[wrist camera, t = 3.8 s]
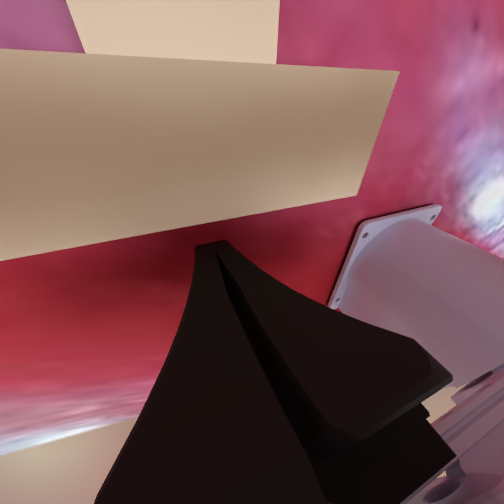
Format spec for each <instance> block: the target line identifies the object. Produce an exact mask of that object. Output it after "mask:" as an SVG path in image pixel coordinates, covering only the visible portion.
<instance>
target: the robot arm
mask: <svg viewBox="0 0 504 504" xmlns="http://www.w3.org/2000/svg"><path fill="white" fill-rule="evenodd" d="M441 209H442V206H441V205H438V204H433V205H429V206H425V207H421V208H416V209H412V210H408V211H404V212H399V213H395V214H391V215H387V216H382V217H378V218H374V219H370V220H366V221H364V222H362V223H361V224H360V225H359V227H358V230H357V232H356V235H355V237H354V240H353V242H352V245H351V247H350V250H349V252H348V255H347V258H346V260H345V263H344V265H343V268H342V270H341V273H340V275H339V278H338V280H337V283H336V285H335V288H334V291H333V293H332V296H331V298H330V301H329V303H328V307H327V306H325V305H323V304H321V303H318V302H316V301H314V300H312V299H310V298H308V297H306V296H304V295H302V294H300V293H298V292H296V291H294V290H293V289H291V288H289V287H287V286H286V285H284V284H282V283H281V282H279V281H278V280H276V279H275V278H273V277H272V276H270V275H269V274H267V273H266V272H264V271H263V270H261V269H260V268H259V267H257V266H256V265H255V264H253V263H252V262H251V261H250V260H248V259H247V258H246V257H245V256H243V255H242V254H241V253H240V252H239V251H237V250H236V249H235V248H234V247H233V246H232V245H231V244H230V243H229V242H227V241H226V240H221V241H216V242H211V243H207V244H202V245H198V246H196V247H195V248H194V251H195V264H194V271H193V277H192V283H191V287H190V291H189V295H188V299H187V303H186V307H185V310H184V313H183V316H182V319H181V322H180V325H179V328H178V330H177V333H176V336H175V338H174V341H173V343H172V346H171V348H170V351H169V353H168V356H167V358H166V360H165V363H164V365H163V367H162V369H161V371H160V373H159V376H158V378H157V380H156V382H155V384H154V386H153V388H152V390H151V392H150V395H149V397H148V399H147V401H146V403H145V405H144V407H143V409H142V411H141V413H140V415H139V417H138V419H137V421H136V423H135V425H134V427H133V429H132V431H131V432H130V435H129V436H128V438H127V440H126V442H125V444H124V445H123V447H122V449H121V451H120V453H119V455H118V457H117V459H116V461H115V462H114V464H113V466H112V468H111V470H110V472H109V474H108V475H107V477H106V479H105V481H104V483H103V485H102V487H101V489H100V490H99V492H98V494H97V497H96V499H95V502H94V504H504V259H502V258H500V257H498V256H496V255H494V254H492V253H489V252H487V251H485V250H483V249H481V248H479V247H477V246H474V245H472V244H470V243H468V242H466V241H464V240H462V239H459V238H457V237H455V236H453V235H451V234H449V233H446V232H444V231H442V230H440V229H438V228H436V227H434V226H431V225H432V223H433V222H434V220H435V219H436V217H437V216H438V214H439V212H440V211H441ZM336 308H339V309H340V310H341V312H342V313H341V312H338V311H336V310H334V309H336ZM470 381H471V382H470ZM468 382H470V383H469V384H467V385H466V386H465V387H463V388H462V389H461V390H459V391H458V392H457V393H456V394H454V395H453V396H452V397H451V399H452V400H453V401H454V402H455V403H456V404H457V405H456V406H455V407H454V408H452V409H451V410H449V411H448V412H447V413H445V414H444V415H442V416H441V417H440V418H438V419H437V420H435V421H434V422H433V423H431V424H430V423H429V422H428V421H427V420H426V418H428V417H429V416H430V414H429V412H428V411H427V409H425V407H424V406H423V405H422V404H421V402H422V401H424V400H425V399H427V398H429V397H430V396H432V395H433V394H435V393H436V392H438V391H439V390H441V389H444V388H448V387H452V386H453V387H456V388H458V387H460V386H462V385H464V384H466V383H468ZM444 471H446V475H447V476H444V477H440V478H437V477H438V476H439V475H440V474H441V473H443V472H444Z"/></svg>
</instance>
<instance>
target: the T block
mask: <svg viewBox="0 0 504 504" xmlns="http://www.w3.org/2000/svg"><path fill="white" fill-rule="evenodd" d="M66 2H67V5H68V8H69V10H70V13H71V16H72V18H73V21H74V24H75V26H76V29H77V32H78V35H79V37H80V40H81V43H82V45H83V48H84V51H85V53H69V52H51V51H33V50H16V49H0V261H3V260H8V259H14V258H19V257H24V256H30V255H35V254H41V253H46V252H52V251H57V250H62V249H68V248H73V247H79V246H84V245H90V244H95V243H101V242H106V241H111V240H117V239H122V238H128V237H133V236H139V235H144V234H150V233H155V232H160V231H166V230H171V229H177V228H182V227H188V226H193V225H198V224H204V223H209V222H215V221H220V220H226V219H231V218H237V217H242V216H247V215H253V214H258V213H264V212H269V211H275V210H280V209H285V208H291V207H296V206H302V205H307V204H313V203H318V202H324V201H329V200H334V199H340V198H345V197H351V196H356V195H357V193H358V190H359V187H360V184H361V181H362V179H363V176H364V173H365V170H366V167H367V164H368V161H369V158H370V156H371V153H372V150H373V147H374V144H375V141H376V138H377V135H378V132H379V130H380V127H381V124H382V121H383V118H384V115H385V112H386V109H387V107H388V104H389V101H390V98H391V95H392V92H393V89H394V86H395V84H396V81H397V78H398V75H399V72H400V71H388V70H370V69H352V68H334V67H317V66H299V65H281V64H276V56H277V39H278V21H279V4H280V0H66Z"/></svg>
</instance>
